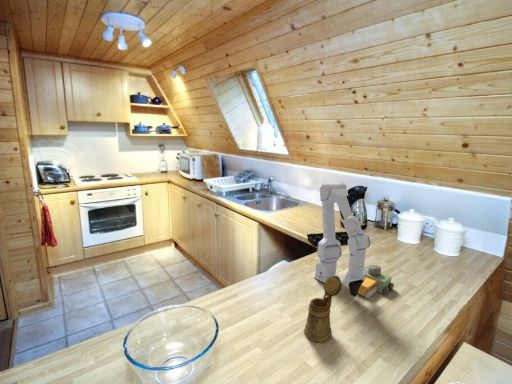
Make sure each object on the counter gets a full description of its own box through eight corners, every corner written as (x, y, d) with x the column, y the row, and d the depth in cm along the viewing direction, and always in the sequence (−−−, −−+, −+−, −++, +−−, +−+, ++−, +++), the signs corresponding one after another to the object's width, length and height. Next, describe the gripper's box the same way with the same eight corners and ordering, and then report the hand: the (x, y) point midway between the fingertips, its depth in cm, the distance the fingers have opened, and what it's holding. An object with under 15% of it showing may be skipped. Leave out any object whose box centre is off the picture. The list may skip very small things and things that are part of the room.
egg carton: (302, 240, 179) (303, 234, 178) (340, 233, 192) (341, 228, 191) (320, 250, 164) (320, 244, 163) (360, 243, 176) (361, 237, 175)
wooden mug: (345, 329, 99) (349, 280, 95) (319, 347, 91) (323, 295, 87) (323, 316, 106) (327, 270, 102) (298, 331, 97) (301, 282, 93)
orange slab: (366, 297, 118) (367, 287, 117) (352, 290, 122) (353, 281, 121) (375, 290, 123) (376, 281, 122) (362, 284, 127) (363, 275, 126)
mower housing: (376, 302, 115) (378, 282, 113) (343, 287, 125) (345, 269, 123) (393, 288, 125) (395, 270, 123) (362, 276, 135) (364, 259, 133)
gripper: (356, 273, 106) (352, 306, 109) (375, 262, 115) (371, 292, 118) (339, 266, 111) (336, 298, 114) (358, 256, 120) (355, 285, 123)
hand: (353, 295), depth 116 cm, fingers closed
